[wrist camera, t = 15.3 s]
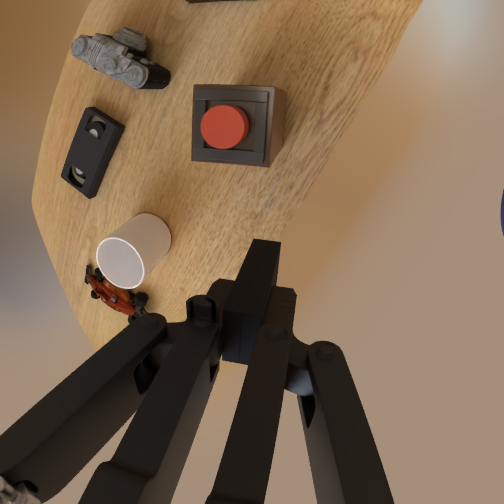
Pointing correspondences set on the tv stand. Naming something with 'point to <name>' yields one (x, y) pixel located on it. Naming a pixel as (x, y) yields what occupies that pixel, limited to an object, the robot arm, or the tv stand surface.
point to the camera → (122, 58)
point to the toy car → (116, 295)
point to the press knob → (224, 126)
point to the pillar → (259, 117)
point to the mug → (133, 250)
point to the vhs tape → (91, 151)
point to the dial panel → (197, 0)
